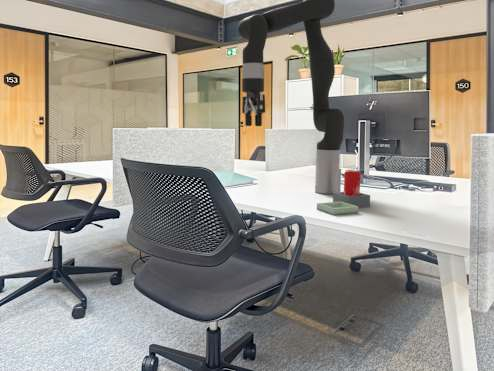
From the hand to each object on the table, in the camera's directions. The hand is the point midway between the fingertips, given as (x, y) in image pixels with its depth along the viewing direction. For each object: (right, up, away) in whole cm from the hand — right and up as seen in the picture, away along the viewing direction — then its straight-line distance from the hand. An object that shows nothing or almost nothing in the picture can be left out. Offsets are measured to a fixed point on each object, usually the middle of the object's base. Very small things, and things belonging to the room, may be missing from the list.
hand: (253, 126), depth 142 cm
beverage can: (+33, -28, -3) cm, 43 cm away
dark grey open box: (+33, -27, -3) cm, 43 cm away
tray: (+26, -29, -13) cm, 41 cm away
